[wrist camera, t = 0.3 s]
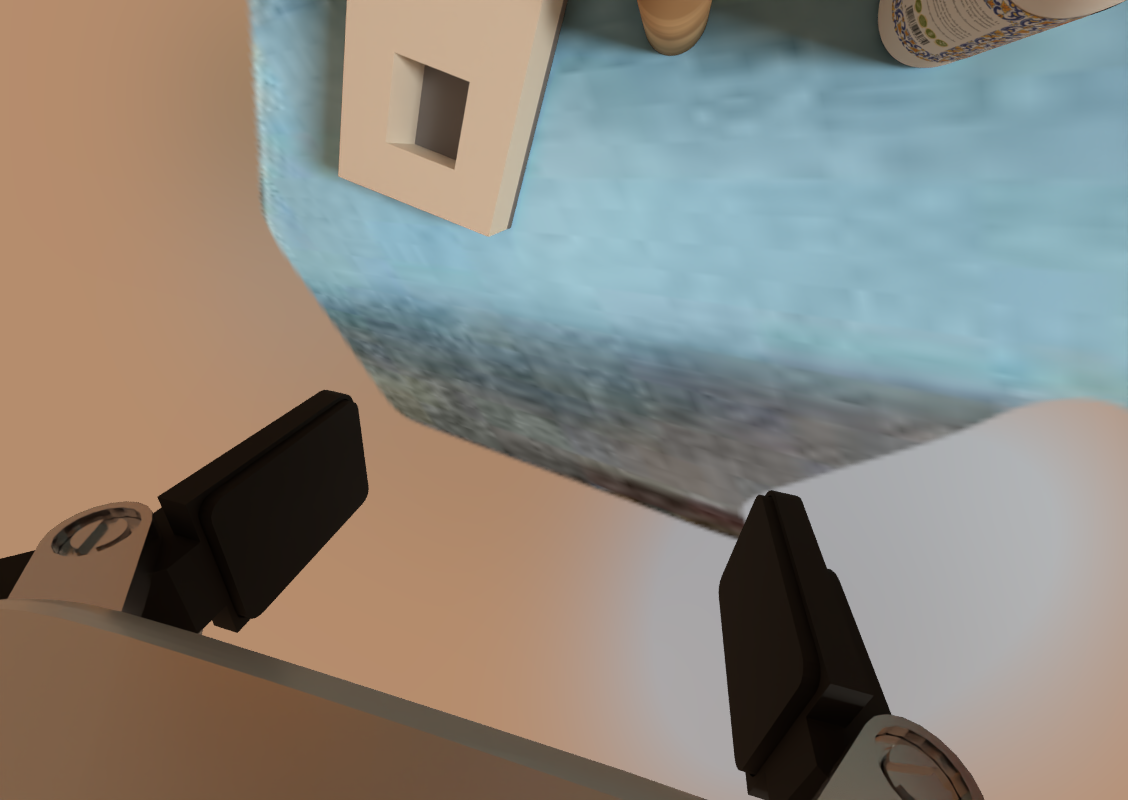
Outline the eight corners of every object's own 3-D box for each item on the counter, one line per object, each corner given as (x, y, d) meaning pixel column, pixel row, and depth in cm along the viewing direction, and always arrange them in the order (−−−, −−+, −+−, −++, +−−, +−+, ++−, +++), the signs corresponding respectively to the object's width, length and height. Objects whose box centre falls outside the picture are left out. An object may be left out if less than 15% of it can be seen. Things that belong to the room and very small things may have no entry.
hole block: (377, 174, 37) (338, 176, 33) (419, -286, 25) (365, -379, 20) (510, 227, 37) (488, 236, 32) (621, -212, 24) (609, -291, 20)
